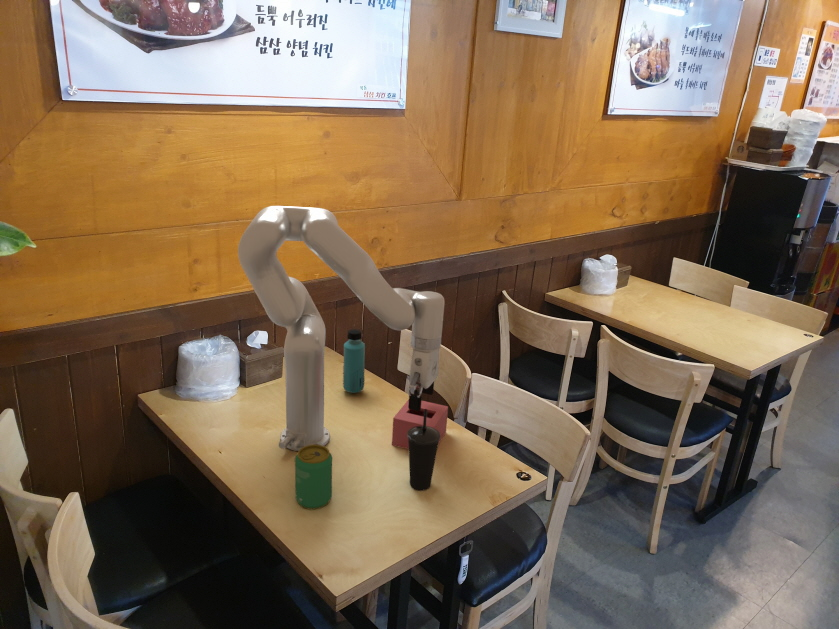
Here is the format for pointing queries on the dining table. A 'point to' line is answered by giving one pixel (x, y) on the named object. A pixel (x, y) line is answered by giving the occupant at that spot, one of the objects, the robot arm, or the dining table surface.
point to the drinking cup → (422, 454)
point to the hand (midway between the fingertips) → (420, 401)
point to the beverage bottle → (354, 362)
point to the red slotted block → (418, 421)
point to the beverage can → (313, 476)
